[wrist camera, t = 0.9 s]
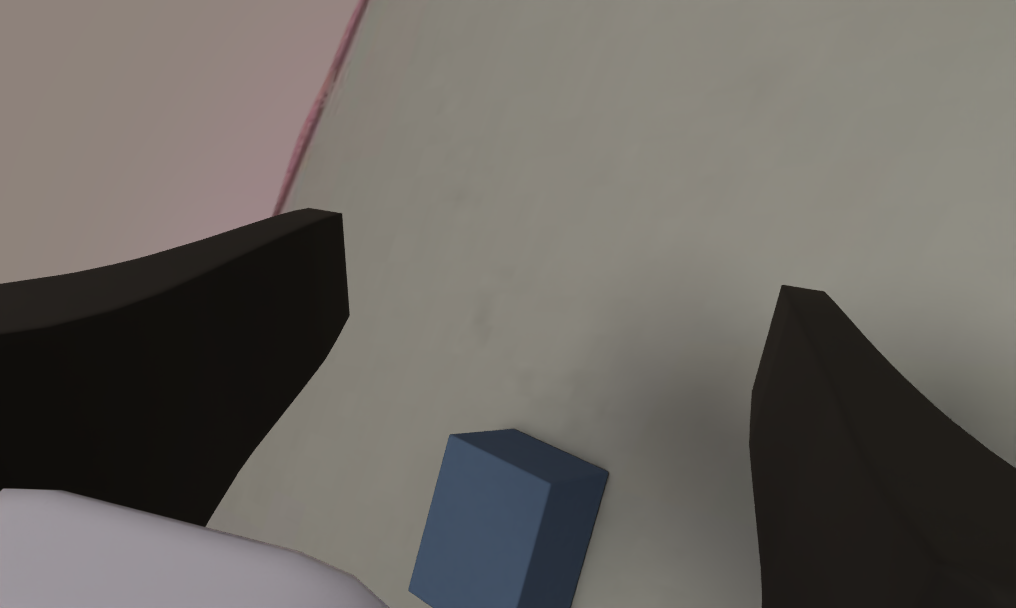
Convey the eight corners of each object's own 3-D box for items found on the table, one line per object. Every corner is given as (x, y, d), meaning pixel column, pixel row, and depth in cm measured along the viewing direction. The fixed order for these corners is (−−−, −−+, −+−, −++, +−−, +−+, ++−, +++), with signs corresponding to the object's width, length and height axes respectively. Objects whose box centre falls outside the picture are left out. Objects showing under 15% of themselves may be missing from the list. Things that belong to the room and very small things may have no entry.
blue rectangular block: (566, 624, 28) (502, 656, 24) (475, 568, 30) (407, 591, 27) (609, 472, 27) (551, 483, 24) (513, 428, 30) (448, 433, 27)
